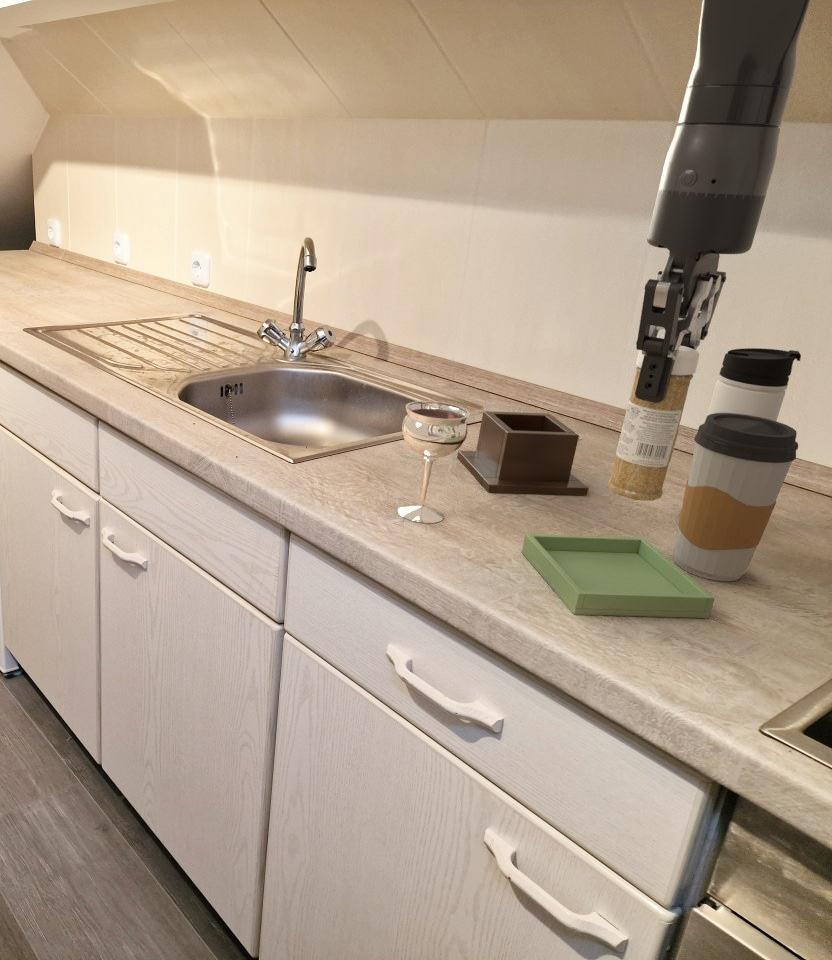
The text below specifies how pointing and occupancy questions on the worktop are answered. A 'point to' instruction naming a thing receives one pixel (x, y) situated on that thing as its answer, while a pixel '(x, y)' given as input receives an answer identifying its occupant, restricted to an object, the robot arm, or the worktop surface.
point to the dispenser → (524, 455)
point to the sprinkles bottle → (651, 433)
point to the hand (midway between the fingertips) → (658, 394)
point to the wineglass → (432, 445)
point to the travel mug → (753, 382)
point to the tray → (615, 576)
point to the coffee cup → (731, 492)
